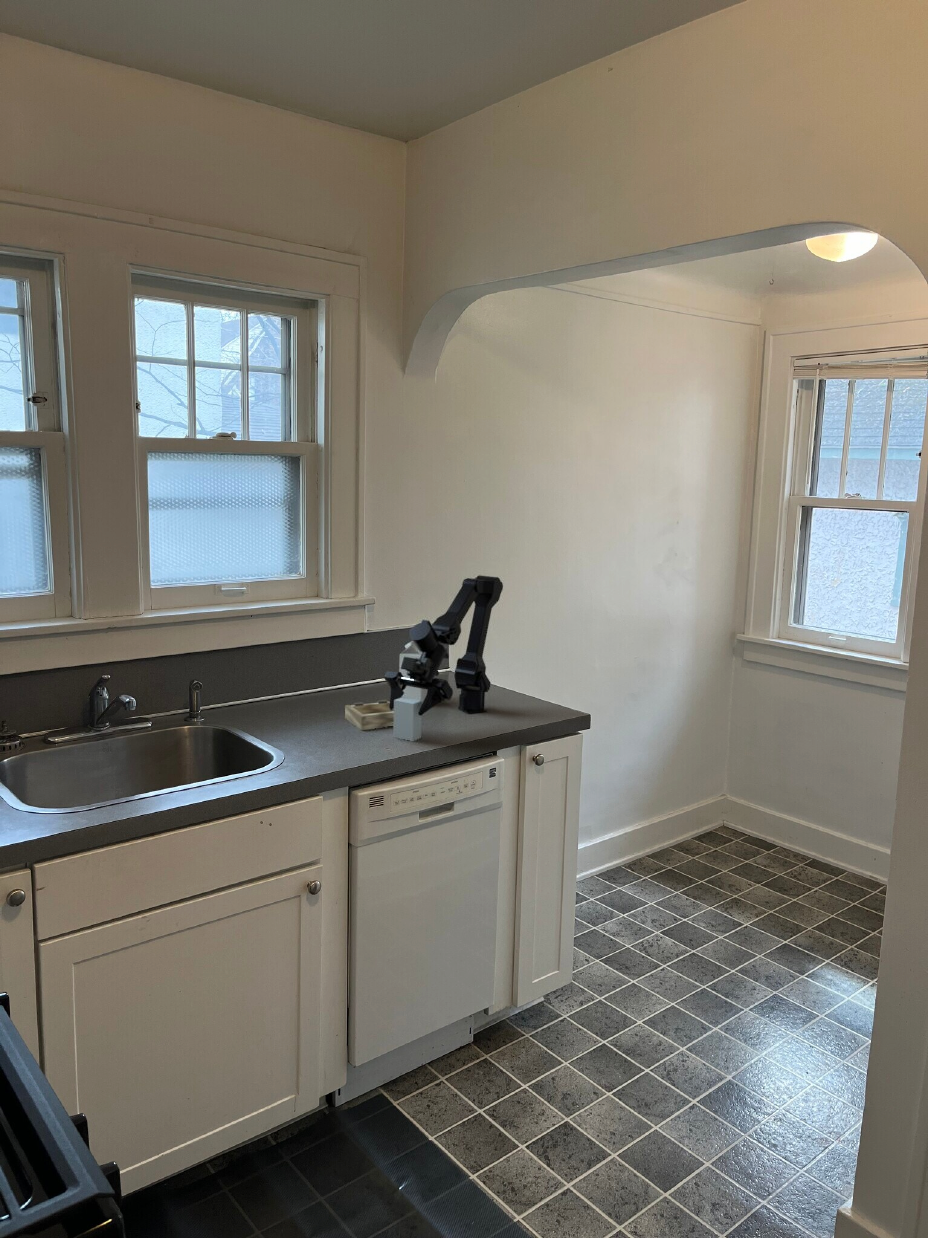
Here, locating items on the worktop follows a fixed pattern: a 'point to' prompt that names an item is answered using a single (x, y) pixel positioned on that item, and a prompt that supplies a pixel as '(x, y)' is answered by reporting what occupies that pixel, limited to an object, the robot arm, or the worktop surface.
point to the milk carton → (409, 691)
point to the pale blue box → (407, 719)
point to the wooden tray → (370, 715)
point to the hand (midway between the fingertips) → (404, 711)
